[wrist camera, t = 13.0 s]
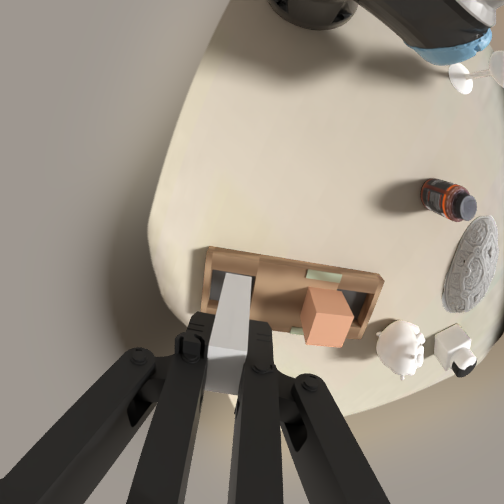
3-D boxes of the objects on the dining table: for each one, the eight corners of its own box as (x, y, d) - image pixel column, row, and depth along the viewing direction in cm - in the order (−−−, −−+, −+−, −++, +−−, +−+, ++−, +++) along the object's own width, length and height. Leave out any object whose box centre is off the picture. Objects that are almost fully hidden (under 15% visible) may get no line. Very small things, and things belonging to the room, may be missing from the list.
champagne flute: (462, 100, 36) (555, 97, 14) (443, 71, 35) (534, 51, 12) (477, 84, 35) (564, 78, 12) (458, 57, 33) (543, 36, 11)
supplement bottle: (426, 215, 45) (460, 234, 35) (414, 187, 43) (450, 201, 33) (447, 199, 44) (484, 215, 33) (437, 172, 42) (475, 182, 32)
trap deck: (209, 246, 48) (206, 253, 45) (378, 273, 49) (385, 281, 46) (202, 311, 53) (199, 320, 50) (356, 331, 54) (360, 341, 51)
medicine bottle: (455, 342, 56) (477, 372, 45) (433, 354, 57) (453, 385, 46) (457, 322, 54) (482, 351, 43) (434, 334, 55) (457, 366, 44)
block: (308, 286, 47) (316, 312, 40) (341, 291, 48) (354, 316, 40) (299, 316, 49) (305, 344, 42) (331, 319, 50) (341, 347, 42)
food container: (431, 316, 53) (448, 332, 46) (460, 205, 45) (483, 212, 39) (471, 312, 54) (487, 324, 48) (498, 214, 47) (518, 222, 40)
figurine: (362, 346, 56) (378, 386, 45) (383, 309, 52) (406, 346, 41) (396, 352, 57) (415, 388, 45) (417, 318, 53) (442, 352, 42)
